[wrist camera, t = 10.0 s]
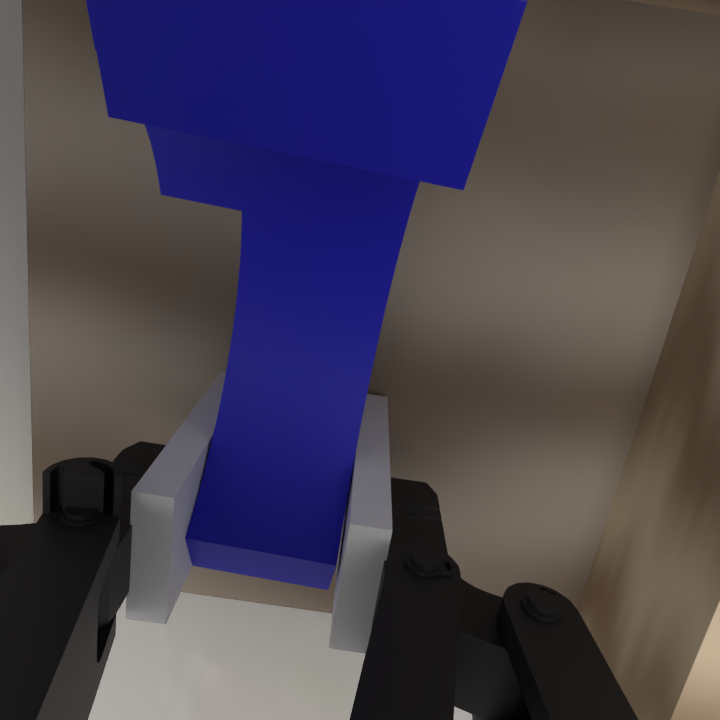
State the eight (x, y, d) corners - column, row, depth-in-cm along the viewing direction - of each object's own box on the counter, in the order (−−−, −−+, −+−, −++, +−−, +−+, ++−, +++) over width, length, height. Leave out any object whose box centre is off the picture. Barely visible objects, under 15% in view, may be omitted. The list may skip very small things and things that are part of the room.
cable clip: (151, -278, 8) (-171, -152, 4) (508, -196, 8) (526, 1, 4) (200, 340, 17) (120, 552, 13) (362, 372, 17) (328, 590, 13)
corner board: (32, -170, 14) (-206, -388, 8) (839, -34, 14) (1142, -152, 9) (44, 559, 20) (-86, 720, 15) (605, 639, 21) (691, 826, 15)
